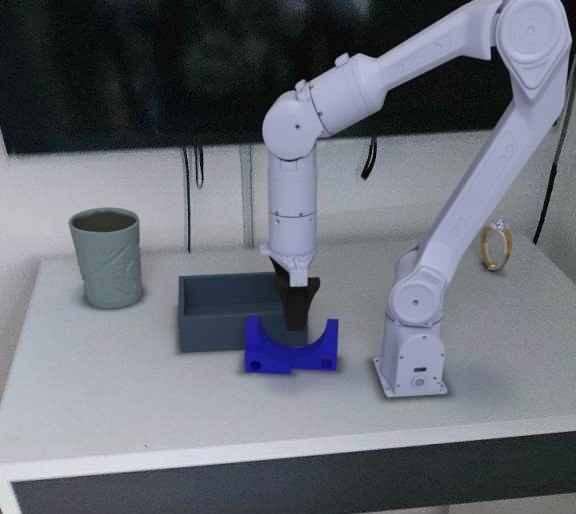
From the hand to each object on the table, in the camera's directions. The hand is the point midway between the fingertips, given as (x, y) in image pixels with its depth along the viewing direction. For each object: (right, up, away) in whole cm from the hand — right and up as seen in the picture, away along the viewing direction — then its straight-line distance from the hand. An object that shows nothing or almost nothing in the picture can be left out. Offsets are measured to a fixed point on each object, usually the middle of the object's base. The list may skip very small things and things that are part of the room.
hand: (292, 315), depth 98 cm
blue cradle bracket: (0, -6, +5) cm, 7 cm away
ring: (+33, +15, +27) cm, 45 cm away
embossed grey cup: (-27, +8, +21) cm, 35 cm away
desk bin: (-7, +2, +13) cm, 15 cm away
